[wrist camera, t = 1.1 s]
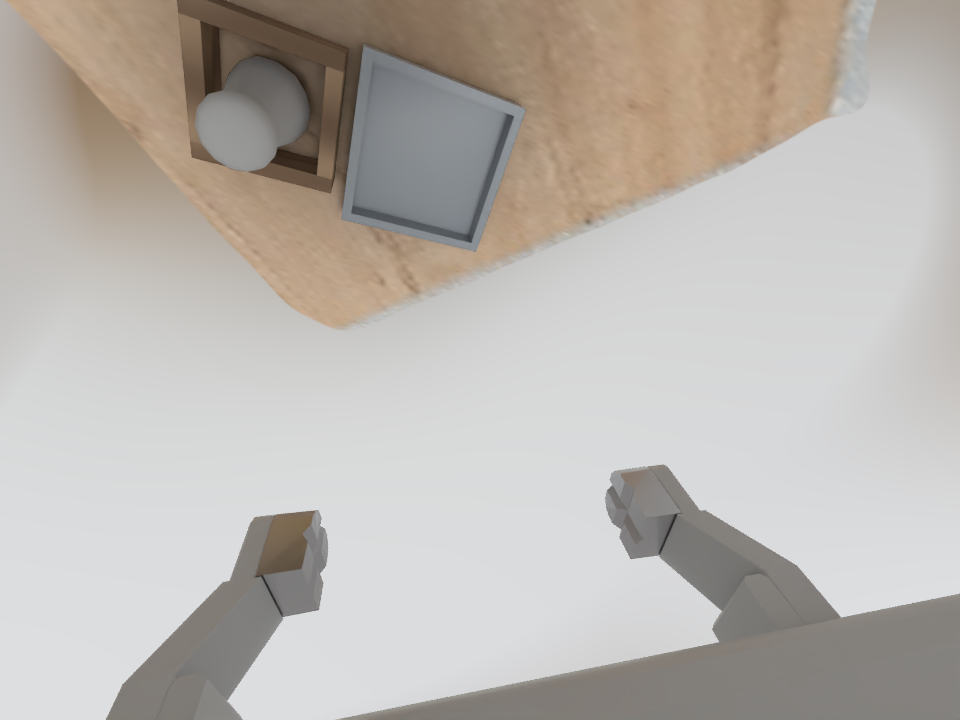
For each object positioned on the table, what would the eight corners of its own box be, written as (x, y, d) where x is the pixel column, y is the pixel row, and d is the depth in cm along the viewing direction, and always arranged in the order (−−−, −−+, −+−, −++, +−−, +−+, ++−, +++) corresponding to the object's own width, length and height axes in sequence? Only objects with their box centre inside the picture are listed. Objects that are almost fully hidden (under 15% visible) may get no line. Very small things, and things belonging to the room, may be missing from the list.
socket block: (197, -10, 28) (176, -11, 25) (348, 48, 32) (345, 53, 29) (207, 143, 34) (191, 157, 31) (334, 178, 38) (330, 193, 35)
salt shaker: (242, 36, 30) (178, 52, 21) (321, 79, 33) (296, 110, 23) (230, 116, 33) (170, 162, 24) (303, 149, 36) (275, 203, 26)
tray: (364, 43, 32) (363, 45, 30) (518, 103, 36) (526, 109, 35) (343, 209, 40) (341, 219, 38) (472, 241, 44) (476, 251, 43)
